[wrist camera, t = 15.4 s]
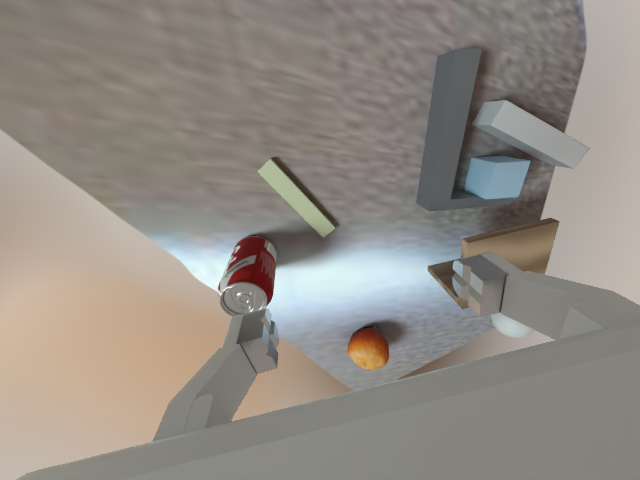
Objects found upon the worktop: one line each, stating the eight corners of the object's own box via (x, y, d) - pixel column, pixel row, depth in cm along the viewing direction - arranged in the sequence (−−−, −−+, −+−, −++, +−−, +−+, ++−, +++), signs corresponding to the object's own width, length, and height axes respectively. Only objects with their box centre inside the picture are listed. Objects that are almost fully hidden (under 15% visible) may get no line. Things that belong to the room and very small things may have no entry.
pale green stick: (334, 224, 39) (335, 228, 38) (322, 234, 40) (323, 238, 39) (271, 157, 34) (270, 159, 33) (258, 169, 34) (257, 171, 33)
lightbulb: (460, 298, 49) (501, 342, 40) (478, 274, 47) (527, 315, 37) (482, 304, 51) (528, 348, 41) (501, 281, 49) (554, 322, 39)
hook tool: (437, 56, 30) (456, 48, 27) (533, 54, 31) (564, 46, 28) (416, 202, 39) (428, 211, 35) (492, 196, 40) (511, 204, 36)
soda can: (274, 232, 38) (268, 276, 28) (279, 268, 42) (275, 319, 31) (231, 235, 38) (207, 281, 27) (238, 271, 41) (220, 325, 30)
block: (471, 157, 37) (495, 163, 32) (502, 155, 37) (530, 160, 33) (463, 190, 39) (485, 199, 34) (492, 187, 39) (518, 196, 35)
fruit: (397, 341, 51) (391, 379, 46) (363, 338, 56) (353, 373, 50) (385, 317, 48) (377, 355, 42) (349, 315, 52) (337, 350, 46)
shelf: (428, 214, 40) (468, 242, 31) (498, 197, 40) (559, 221, 31) (427, 270, 45) (462, 308, 36) (490, 255, 45) (540, 290, 36)
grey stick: (470, 124, 35) (490, 125, 31) (483, 102, 33) (505, 100, 30) (547, 164, 39) (573, 168, 35) (561, 145, 37) (590, 148, 34)
